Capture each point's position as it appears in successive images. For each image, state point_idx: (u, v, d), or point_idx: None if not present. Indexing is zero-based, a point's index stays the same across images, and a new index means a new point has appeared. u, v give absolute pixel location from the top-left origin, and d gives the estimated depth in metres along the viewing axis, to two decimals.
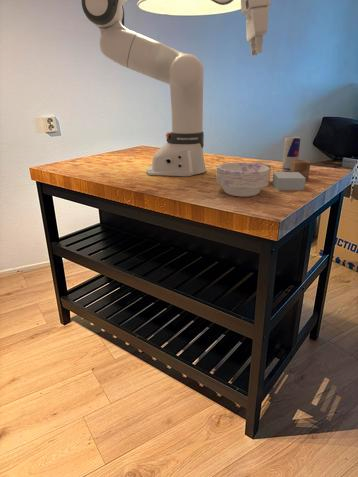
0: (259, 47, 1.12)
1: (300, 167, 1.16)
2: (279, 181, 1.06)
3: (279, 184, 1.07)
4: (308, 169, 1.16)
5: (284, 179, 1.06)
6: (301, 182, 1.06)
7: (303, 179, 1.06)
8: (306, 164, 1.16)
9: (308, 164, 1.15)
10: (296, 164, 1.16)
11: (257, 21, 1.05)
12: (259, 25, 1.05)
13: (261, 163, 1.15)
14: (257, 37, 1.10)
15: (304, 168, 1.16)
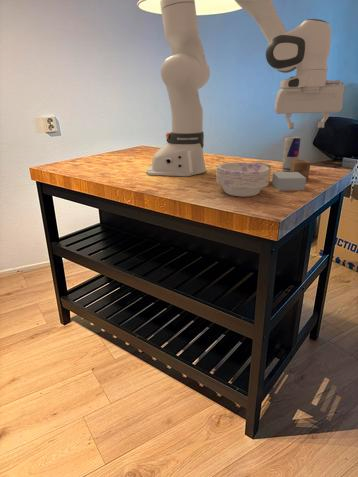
0: (288, 124, 1.13)
1: (300, 167, 1.16)
2: (280, 181, 1.06)
3: (280, 184, 1.07)
4: (308, 169, 1.16)
5: (285, 179, 1.06)
6: (302, 182, 1.06)
7: (303, 179, 1.06)
8: (306, 164, 1.16)
9: (308, 164, 1.15)
10: (296, 164, 1.16)
11: (275, 101, 1.12)
12: (275, 105, 1.12)
13: (261, 163, 1.15)
14: (285, 114, 1.13)
15: (304, 168, 1.16)
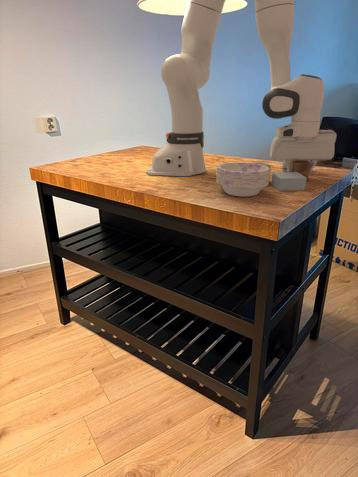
0: (287, 168, 1.19)
1: (300, 167, 1.16)
2: (280, 181, 1.06)
3: (280, 184, 1.07)
4: (308, 169, 1.16)
5: (285, 179, 1.06)
6: (302, 182, 1.07)
7: (304, 179, 1.06)
8: (306, 164, 1.16)
9: (308, 164, 1.15)
10: (296, 164, 1.16)
11: (271, 147, 1.17)
12: (270, 151, 1.17)
13: (261, 163, 1.15)
14: (285, 159, 1.18)
15: (304, 168, 1.16)
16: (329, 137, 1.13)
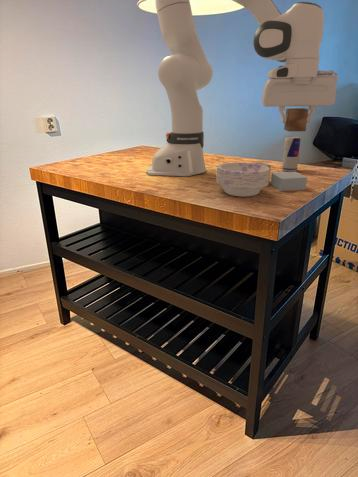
0: (282, 118, 1.03)
1: (296, 115, 1.01)
2: (282, 181, 1.06)
3: (282, 184, 1.06)
4: (305, 117, 1.01)
5: (286, 179, 1.06)
6: (303, 181, 1.07)
7: (304, 178, 1.06)
8: (303, 111, 1.00)
9: (305, 111, 1.00)
10: (292, 111, 1.01)
11: (263, 93, 1.02)
12: (262, 97, 1.02)
13: (261, 163, 1.15)
14: (279, 107, 1.03)
15: (301, 116, 1.01)
16: (329, 78, 0.98)
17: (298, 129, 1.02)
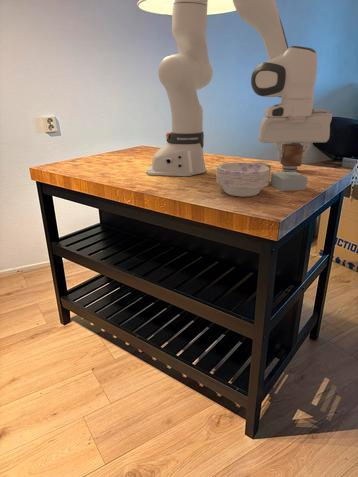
0: (278, 153, 1.07)
1: (292, 151, 1.04)
2: (282, 181, 1.06)
3: (282, 184, 1.06)
4: (301, 153, 1.04)
5: (287, 179, 1.06)
6: (303, 181, 1.07)
7: (305, 178, 1.07)
8: (298, 148, 1.04)
9: (301, 147, 1.04)
10: (287, 147, 1.04)
11: (259, 129, 1.06)
12: (259, 134, 1.06)
13: (261, 163, 1.15)
14: (275, 143, 1.07)
15: (296, 152, 1.04)
16: (324, 117, 1.01)
17: (294, 164, 1.06)
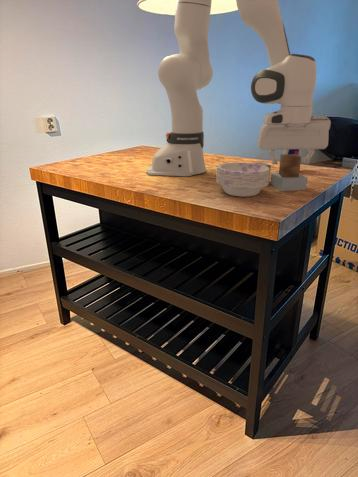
0: (272, 159, 1.08)
1: (290, 162, 1.06)
2: (283, 182, 1.06)
3: (283, 185, 1.06)
4: (298, 164, 1.06)
5: (288, 180, 1.06)
6: (303, 181, 1.07)
7: (305, 179, 1.07)
8: (296, 159, 1.05)
9: (298, 159, 1.05)
10: (285, 159, 1.05)
11: None
12: (258, 140, 1.06)
13: (261, 163, 1.15)
14: (269, 149, 1.07)
15: (294, 163, 1.06)
16: (322, 124, 1.02)
17: (291, 175, 1.07)
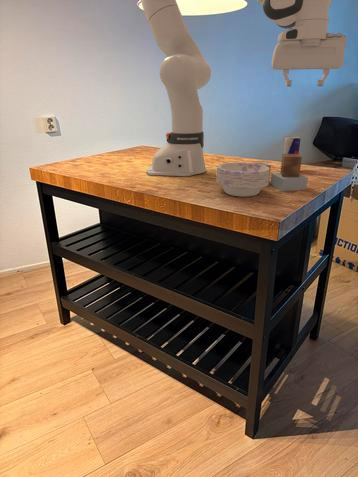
0: (286, 81, 1.06)
1: (290, 161, 1.06)
2: (283, 182, 1.06)
3: (283, 185, 1.06)
4: (299, 164, 1.06)
5: (288, 180, 1.06)
6: (303, 181, 1.07)
7: (305, 178, 1.07)
8: (296, 159, 1.05)
9: (299, 158, 1.05)
10: (286, 158, 1.06)
11: (272, 56, 1.05)
12: (272, 61, 1.05)
13: (261, 163, 1.15)
14: (283, 71, 1.06)
15: (295, 163, 1.06)
16: (338, 41, 1.00)
17: (292, 175, 1.07)
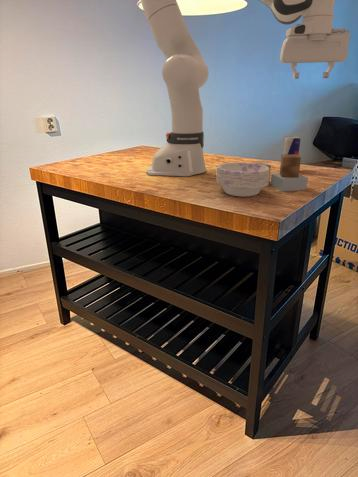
0: (294, 74, 1.13)
1: (289, 162, 1.06)
2: (283, 182, 1.06)
3: (283, 185, 1.06)
4: (298, 164, 1.06)
5: (288, 180, 1.06)
6: (304, 182, 1.07)
7: (305, 179, 1.07)
8: (296, 159, 1.05)
9: (298, 159, 1.05)
10: (285, 158, 1.05)
11: (281, 50, 1.12)
12: (281, 54, 1.12)
13: (261, 163, 1.15)
14: (291, 64, 1.13)
15: (294, 163, 1.06)
16: (343, 35, 1.07)
17: (291, 175, 1.07)
